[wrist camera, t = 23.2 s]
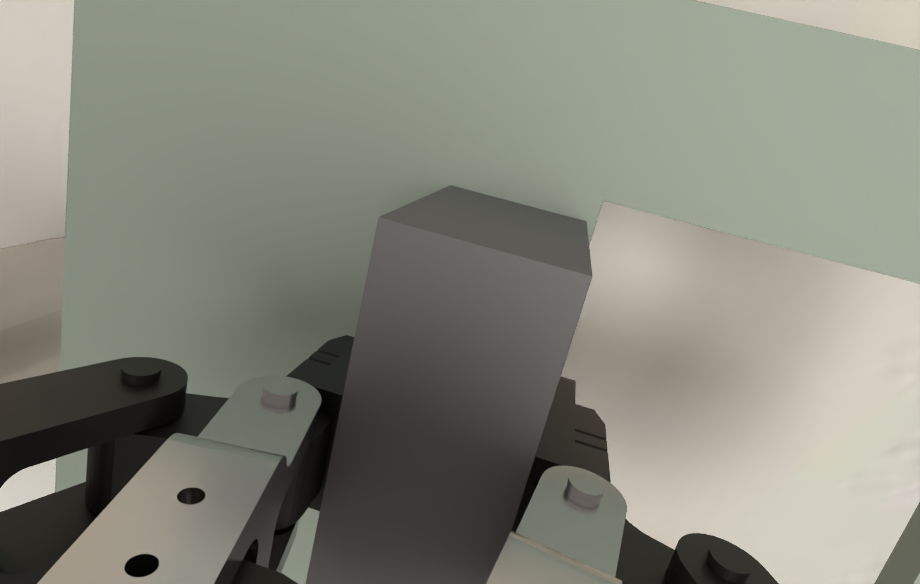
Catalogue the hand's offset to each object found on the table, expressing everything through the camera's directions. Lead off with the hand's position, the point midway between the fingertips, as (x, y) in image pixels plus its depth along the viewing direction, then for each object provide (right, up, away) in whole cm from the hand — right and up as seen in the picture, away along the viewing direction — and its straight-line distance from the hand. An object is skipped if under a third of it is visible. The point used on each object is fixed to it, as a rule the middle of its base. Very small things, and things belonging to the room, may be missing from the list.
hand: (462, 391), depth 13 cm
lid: (+2, 0, +2) cm, 3 cm away
